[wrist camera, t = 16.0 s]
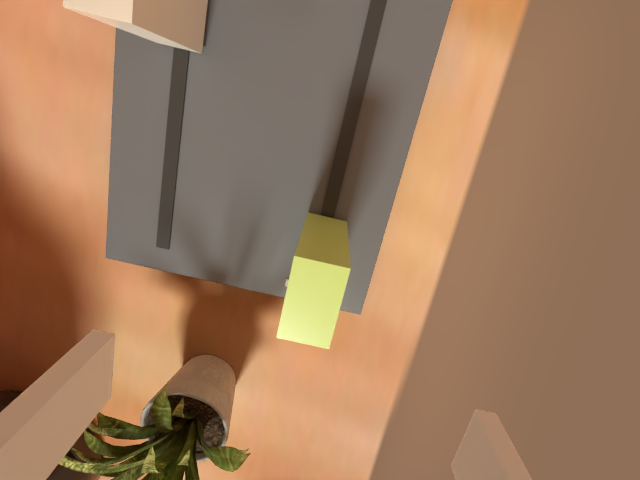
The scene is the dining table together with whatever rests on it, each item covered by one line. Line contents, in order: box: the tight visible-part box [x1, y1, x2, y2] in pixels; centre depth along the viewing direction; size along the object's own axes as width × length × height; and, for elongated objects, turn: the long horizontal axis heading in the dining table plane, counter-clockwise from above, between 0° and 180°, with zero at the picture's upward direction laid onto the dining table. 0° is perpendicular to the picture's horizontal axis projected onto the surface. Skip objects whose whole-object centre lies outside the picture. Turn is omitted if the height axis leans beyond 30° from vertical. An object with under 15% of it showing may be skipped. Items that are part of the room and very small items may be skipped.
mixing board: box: [106, 0, 453, 315], centre depth 28 cm, size 21×24×2 cm
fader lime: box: [276, 212, 351, 349], centre depth 25 cm, size 3×5×9 cm, turn 167°
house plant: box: [59, 355, 250, 480], centre depth 28 cm, size 14×14×16 cm
